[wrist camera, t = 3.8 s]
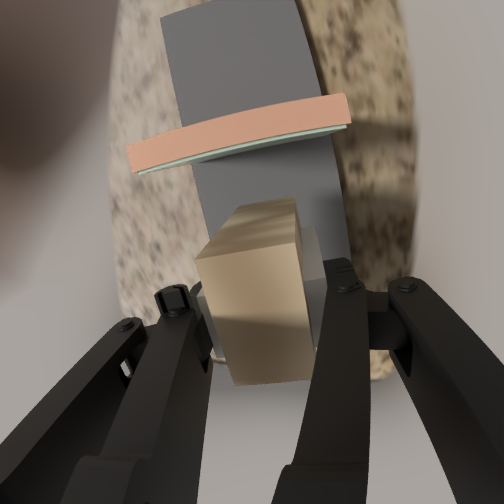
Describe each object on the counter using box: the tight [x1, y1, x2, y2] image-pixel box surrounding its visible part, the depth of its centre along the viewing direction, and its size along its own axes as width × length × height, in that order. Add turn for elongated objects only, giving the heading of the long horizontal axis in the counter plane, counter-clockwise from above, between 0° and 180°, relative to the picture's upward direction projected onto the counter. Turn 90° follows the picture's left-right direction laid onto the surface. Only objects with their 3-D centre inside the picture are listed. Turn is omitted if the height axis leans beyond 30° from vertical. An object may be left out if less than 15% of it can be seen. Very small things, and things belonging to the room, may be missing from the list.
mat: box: [160, 0, 352, 263], centre depth 21 cm, size 10×24×1 cm, turn 13°
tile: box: [126, 93, 352, 175], centre depth 16 cm, size 9×1×9 cm, turn 103°
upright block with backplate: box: [195, 196, 316, 386], centre depth 14 cm, size 8×8×8 cm
